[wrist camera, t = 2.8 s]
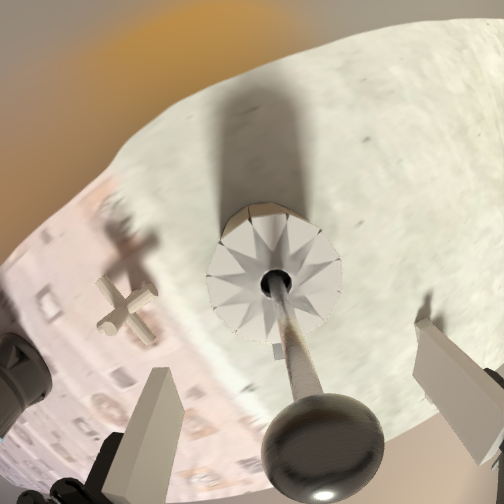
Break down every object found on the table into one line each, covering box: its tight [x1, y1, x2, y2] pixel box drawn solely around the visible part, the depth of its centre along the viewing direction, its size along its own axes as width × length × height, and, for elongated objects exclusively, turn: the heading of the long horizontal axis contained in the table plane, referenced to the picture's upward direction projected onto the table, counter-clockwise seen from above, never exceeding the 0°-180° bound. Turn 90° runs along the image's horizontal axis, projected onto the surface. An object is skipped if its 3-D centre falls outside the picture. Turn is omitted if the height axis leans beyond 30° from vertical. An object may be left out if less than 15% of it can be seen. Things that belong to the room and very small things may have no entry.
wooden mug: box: [206, 202, 342, 360], centre depth 30 cm, size 11×14×14 cm
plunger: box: [260, 269, 384, 504], centre depth 16 cm, size 8×8×22 cm
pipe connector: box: [95, 274, 158, 345], centre depth 33 cm, size 10×10×10 cm
